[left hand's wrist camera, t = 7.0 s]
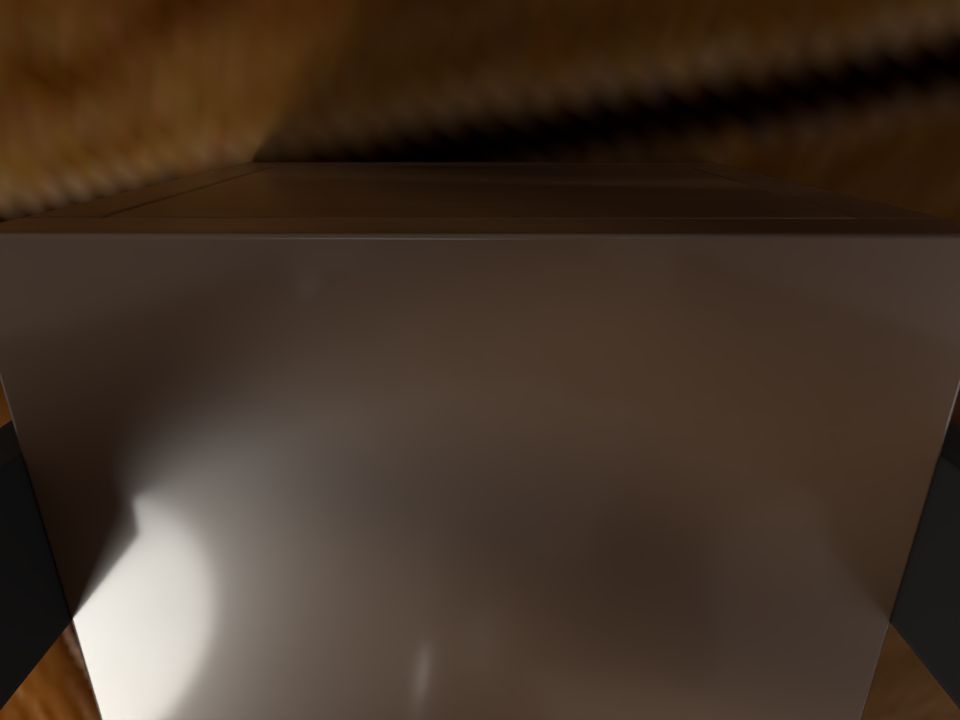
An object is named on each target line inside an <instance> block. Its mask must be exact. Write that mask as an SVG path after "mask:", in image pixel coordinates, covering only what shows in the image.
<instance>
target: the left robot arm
mask: <svg viewBox="0 0 960 720" xmlns="http://www.w3.org/2000/svg"><path fill="white" fill-rule="evenodd" d="M70 622H71V618H70V614H69V611H68V608H67V604H66V601H65V597H64V594H63V591H62V587H61V584H60V581H59V577H58V574H57V570H56V567H55V564H54V560H53V557H52V554H51V550H50V547H49V543H48V540H47V537H46V533H45V530H44V527H43V523H42V520H41V516H40V513H39V510H38V506H37V503H36V500H35V496H34V493H33V489H32V486H31V483H30V479H29V476H28V472H27V469H26V466H25V462H24V459H23V456H22V452H21V449H20V445H19V442H18V439H17V435H16V432H15V429H14V425H13V422H12V420H11V421H10V422H8V423H7V424H5V425H4V426H2V427H1V428H0V710H1V709H2V707H3V706H4V705H5V704H6V702H7V701H8V700H9V699H10V697H11V696H12V695H13V694H14V692H15V691H16V690H17V689H18V687H19V686H20V685H21V684H22V682H23V681H24V680H25V678H26V677H27V676H28V675H29V673H30V672H31V671H32V670H33V668H34V667H35V666H36V665H37V663H38V662H39V661H40V660H41V658H42V657H43V656H44V655H45V653H46V652H47V651H48V650H49V648H50V647H51V646H52V645H53V643H54V642H55V641H56V639H57V638H58V637H59V636H60V634H61V633H62V632H63V631H64V629H65V628H66V627H67V626H68V624H69V623H70ZM890 622H891V623H892V625H893V626H894V627H895V628H896V630H897V631H898V632H899V633H900V635H901V636H902V637H903V638H904V640H905V641H906V642H907V644H908V645H909V646H910V647H911V649H912V650H913V651H914V652H915V654H916V655H917V656H918V657H919V659H920V660H921V661H922V662H923V664H924V665H925V666H926V667H927V669H928V670H929V671H930V672H931V674H932V675H933V676H934V677H935V679H936V680H937V681H938V683H939V684H940V685H941V686H942V688H943V689H944V690H945V691H946V693H947V694H948V695H949V696H950V698H951V699H952V700H953V701H954V703H955V704H956V705H957V706H958V708H959V709H960V427H958V426H957V425H955V424H954V423H952V422H951V421H950V423H949V426H948V430H947V433H946V436H945V440H944V443H943V446H942V450H941V453H940V456H939V460H938V463H937V467H936V470H935V473H934V477H933V480H932V483H931V487H930V490H929V493H928V497H927V500H926V503H925V507H924V510H923V513H922V517H921V520H920V524H919V527H918V530H917V534H916V537H915V540H914V544H913V547H912V550H911V554H910V557H909V560H908V564H907V567H906V570H905V574H904V577H903V580H902V584H901V587H900V591H899V594H898V597H897V601H896V604H895V607H894V611H893V614H892V617H891V621H890Z"/></svg>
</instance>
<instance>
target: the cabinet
mask: <svg viewBox="0 0 960 720" xmlns="http://www.w3.org/2000/svg"><path fill="white" fill-rule="evenodd" d="M0 381H1V385H2V388H3V391H4V395H5V398H6V402H7V405H8V408H9V412H10V415H11V418H12V422H13V425H14V429H15V432H16V435H17V439H18V442H19V445H20V449H21V452H22V456H23V459H24V462H25V466H26V469H27V472H28V476H29V479H30V483H31V486H32V489H33V493H34V496H35V500H36V503H37V506H38V510H39V513H40V516H41V520H42V523H43V527H44V530H45V533H46V537H47V540H48V543H49V547H50V550H51V554H52V557H53V560H54V564H55V567H56V570H57V574H58V577H59V581H60V584H61V587H62V591H63V594H64V597H65V601H66V604H67V608H68V611H69V614H70V618H71V621H72V624H73V628H74V631H75V635H76V638H77V641H78V645H79V648H80V651H81V655H82V658H83V662H84V665H85V668H86V672H87V675H88V678H89V682H90V685H91V689H92V692H93V695H94V699H95V702H96V705H97V709H98V712H99V716H100V719H101V720H861V718H862V715H863V711H864V708H865V704H866V701H867V698H868V694H869V691H870V688H871V684H872V681H873V678H874V674H875V671H876V668H877V664H878V661H879V658H880V654H881V651H882V647H883V644H884V641H885V637H886V634H887V631H888V627H889V624H890V621H891V617H892V614H893V611H894V607H895V604H896V601H897V597H898V594H899V591H900V587H901V584H902V580H903V577H904V574H905V570H906V567H907V564H908V560H909V557H910V554H911V550H912V547H913V544H914V540H915V537H916V534H917V530H918V527H919V524H920V520H921V517H922V513H923V510H924V507H925V503H926V500H927V497H928V493H929V490H930V487H931V483H932V480H933V477H934V473H935V470H936V467H937V463H938V460H939V456H940V453H941V450H942V446H943V443H944V440H945V436H946V433H947V430H948V426H949V423H950V420H951V416H952V413H953V410H954V406H955V403H956V400H957V396H958V393H959V389H960V223H958V222H954V221H950V220H946V219H940V218H938V217H935V216H931V215H927V214H923V213H919V212H914V211H910V210H906V209H902V208H898V207H894V206H890V205H886V204H882V203H878V202H874V201H870V200H866V199H861V198H857V197H853V196H849V195H845V194H841V193H837V192H833V191H829V190H825V189H821V188H817V187H813V186H808V185H804V184H800V183H796V182H792V181H788V180H784V179H780V178H776V177H772V176H768V175H764V174H760V173H756V172H751V171H747V170H743V169H739V168H735V167H731V166H725V165H722V164H718V163H714V162H248V163H244V164H240V165H236V166H232V167H228V168H224V169H220V170H216V171H211V172H207V173H203V174H199V175H195V176H191V177H187V178H183V179H179V180H175V181H171V182H167V183H163V184H158V185H154V186H150V187H146V188H142V189H138V190H134V191H130V192H126V193H122V194H118V195H114V196H110V197H105V198H101V199H97V200H93V201H89V202H85V203H81V204H77V205H73V206H69V207H65V208H61V209H57V210H52V211H48V212H44V213H40V214H36V215H32V216H29V217H27V218H18V219H14V220H10V221H6V222H2V223H0Z"/></svg>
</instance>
